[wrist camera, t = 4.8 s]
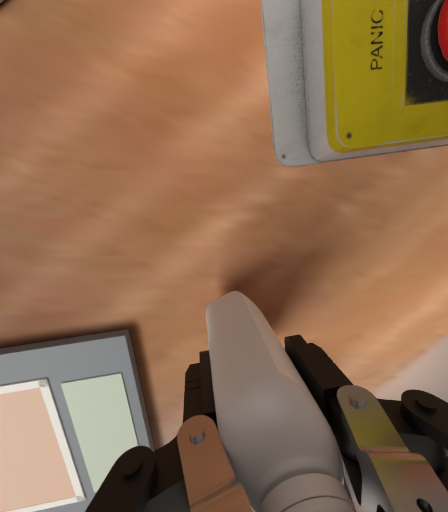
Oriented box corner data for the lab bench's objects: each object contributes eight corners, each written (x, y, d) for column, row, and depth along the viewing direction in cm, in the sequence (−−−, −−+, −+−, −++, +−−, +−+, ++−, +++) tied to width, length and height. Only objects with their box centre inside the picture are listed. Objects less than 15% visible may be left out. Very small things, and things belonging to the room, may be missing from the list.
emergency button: (592, 117, 12) (304, 156, 10) (485, 141, 16) (272, 170, 14) (643, -135, 9) (288, -127, 8) (503, -29, 14) (255, -13, 12)
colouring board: (-194, 377, 13) (-222, 390, 12) (128, 328, 15) (124, 336, 14) (-95, 546, 16) (-111, 566, 16) (163, 490, 18) (162, 505, 17)
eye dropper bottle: (277, 287, 14) (662, 682, 2) (270, 367, 15) (506, 879, 4) (205, 288, 14) (267, 800, 2) (204, 371, 15) (238, 984, 3)
